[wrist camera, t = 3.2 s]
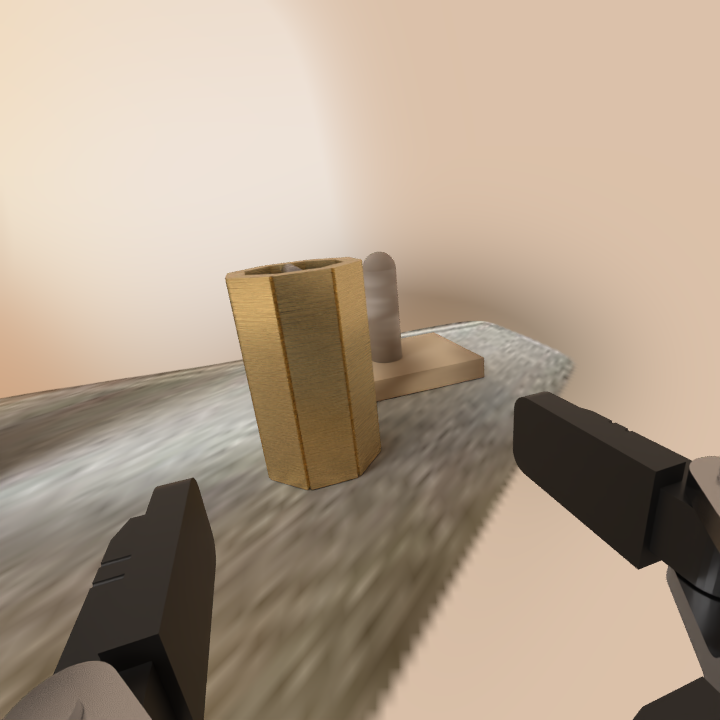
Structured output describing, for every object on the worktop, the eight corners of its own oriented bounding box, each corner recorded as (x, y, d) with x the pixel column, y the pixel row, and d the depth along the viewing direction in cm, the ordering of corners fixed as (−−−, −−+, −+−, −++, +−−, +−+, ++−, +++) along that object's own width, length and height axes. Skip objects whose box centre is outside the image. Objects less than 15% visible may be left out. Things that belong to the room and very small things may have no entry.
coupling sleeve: (272, 501, 18) (223, 283, 14) (264, 438, 23) (228, 270, 20) (393, 467, 19) (374, 262, 16) (359, 416, 25) (340, 255, 21)
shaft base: (324, 413, 26) (302, 267, 22) (305, 373, 33) (287, 259, 30) (483, 377, 28) (483, 242, 25) (434, 348, 36) (429, 241, 32)
